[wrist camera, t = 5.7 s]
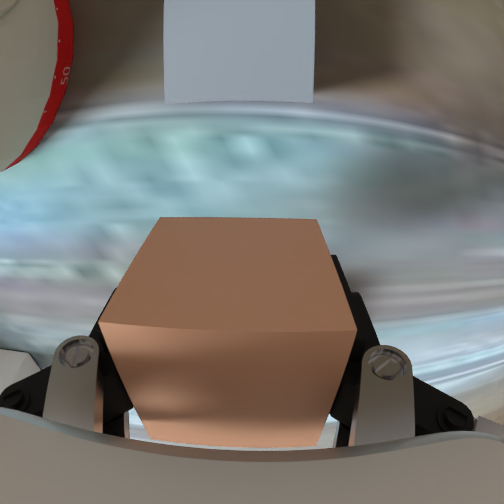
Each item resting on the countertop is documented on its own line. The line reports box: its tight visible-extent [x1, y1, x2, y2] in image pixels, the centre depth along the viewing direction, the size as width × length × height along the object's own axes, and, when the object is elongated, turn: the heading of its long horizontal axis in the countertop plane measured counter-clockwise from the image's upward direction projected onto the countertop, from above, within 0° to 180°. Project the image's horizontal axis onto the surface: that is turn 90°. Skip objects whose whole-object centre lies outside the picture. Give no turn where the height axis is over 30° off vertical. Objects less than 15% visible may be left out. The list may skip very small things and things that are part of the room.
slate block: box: [164, 0, 315, 104], centre depth 11 cm, size 5×5×5 cm
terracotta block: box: [98, 217, 357, 448], centre depth 9 cm, size 5×5×5 cm
